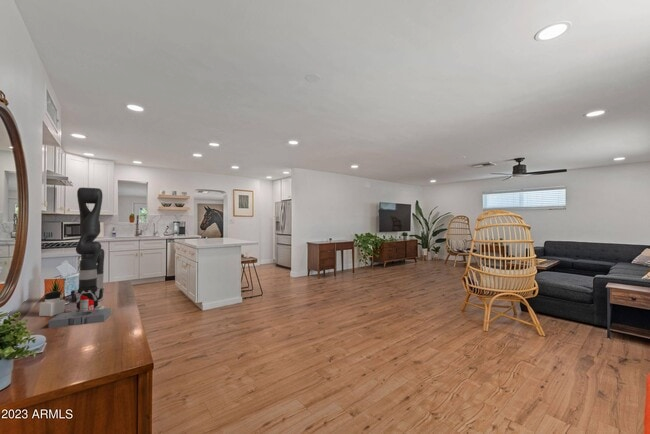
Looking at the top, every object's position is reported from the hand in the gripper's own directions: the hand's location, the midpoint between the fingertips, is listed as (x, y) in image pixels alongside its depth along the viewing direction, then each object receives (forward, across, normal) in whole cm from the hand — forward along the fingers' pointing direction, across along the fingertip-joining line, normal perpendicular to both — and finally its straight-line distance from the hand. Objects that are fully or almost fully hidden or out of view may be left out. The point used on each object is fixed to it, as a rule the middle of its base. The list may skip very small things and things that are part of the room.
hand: (87, 308), depth 150 cm
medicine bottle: (+3, +17, -7) cm, 19 cm away
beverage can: (+3, 0, 0) cm, 3 cm away
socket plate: (+3, -2, +13) cm, 13 cm away
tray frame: (+3, 0, 0) cm, 3 cm away
